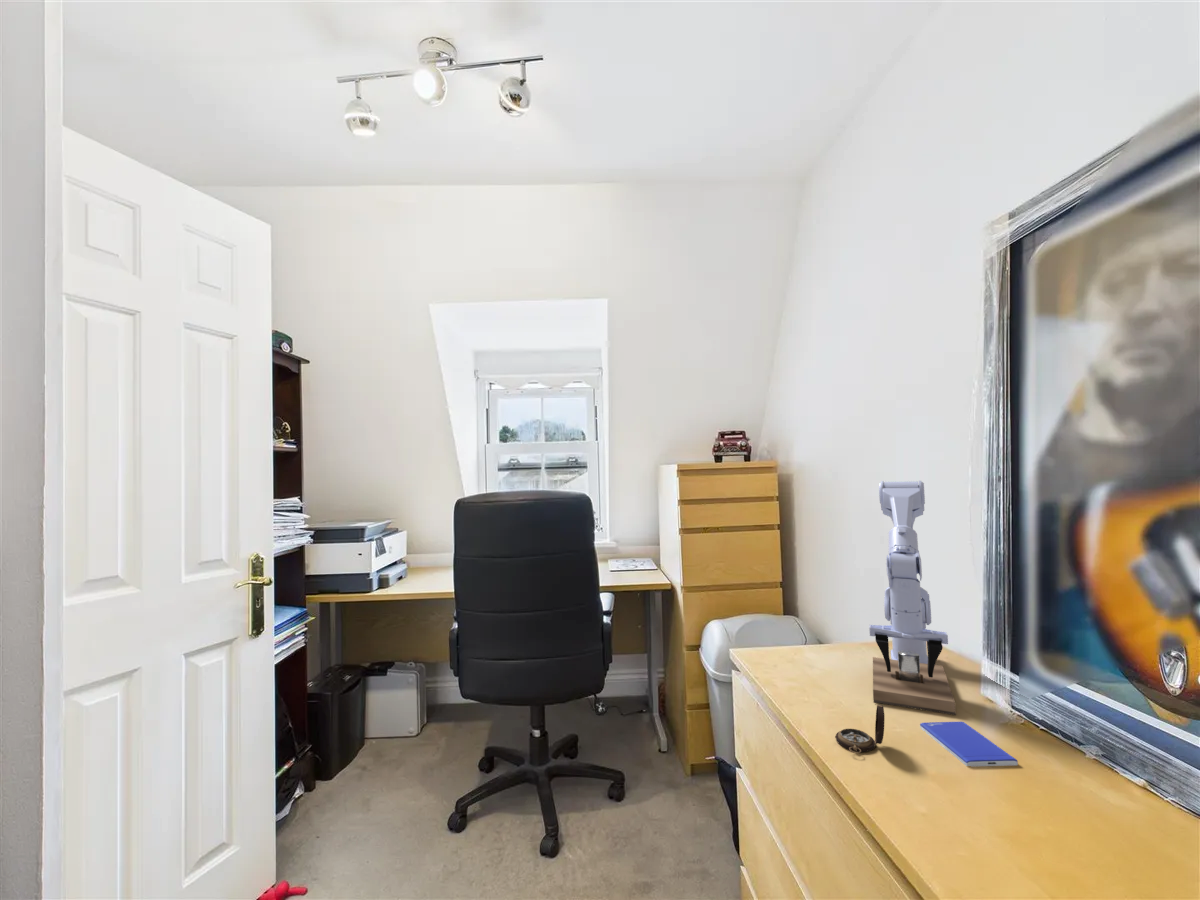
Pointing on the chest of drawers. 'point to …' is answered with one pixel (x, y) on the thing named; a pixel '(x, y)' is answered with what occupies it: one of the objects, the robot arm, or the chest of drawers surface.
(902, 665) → the peg
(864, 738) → the compass
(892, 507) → the robot arm
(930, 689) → the socket board
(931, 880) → the chest of drawers surface
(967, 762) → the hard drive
